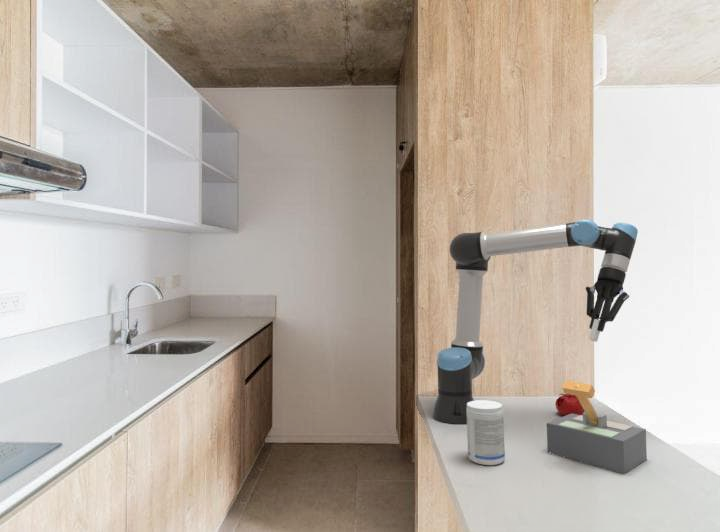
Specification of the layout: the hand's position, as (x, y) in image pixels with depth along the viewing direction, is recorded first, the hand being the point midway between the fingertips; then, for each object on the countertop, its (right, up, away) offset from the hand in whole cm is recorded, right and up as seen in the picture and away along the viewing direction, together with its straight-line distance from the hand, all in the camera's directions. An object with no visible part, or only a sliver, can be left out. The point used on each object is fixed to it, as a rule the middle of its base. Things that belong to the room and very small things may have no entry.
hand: (592, 340), depth 149 cm
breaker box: (-9, -28, -20) cm, 36 cm away
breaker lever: (-9, -19, -20) cm, 29 cm away
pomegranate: (+1, -29, +18) cm, 34 cm away
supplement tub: (-39, -29, -22) cm, 53 cm away
